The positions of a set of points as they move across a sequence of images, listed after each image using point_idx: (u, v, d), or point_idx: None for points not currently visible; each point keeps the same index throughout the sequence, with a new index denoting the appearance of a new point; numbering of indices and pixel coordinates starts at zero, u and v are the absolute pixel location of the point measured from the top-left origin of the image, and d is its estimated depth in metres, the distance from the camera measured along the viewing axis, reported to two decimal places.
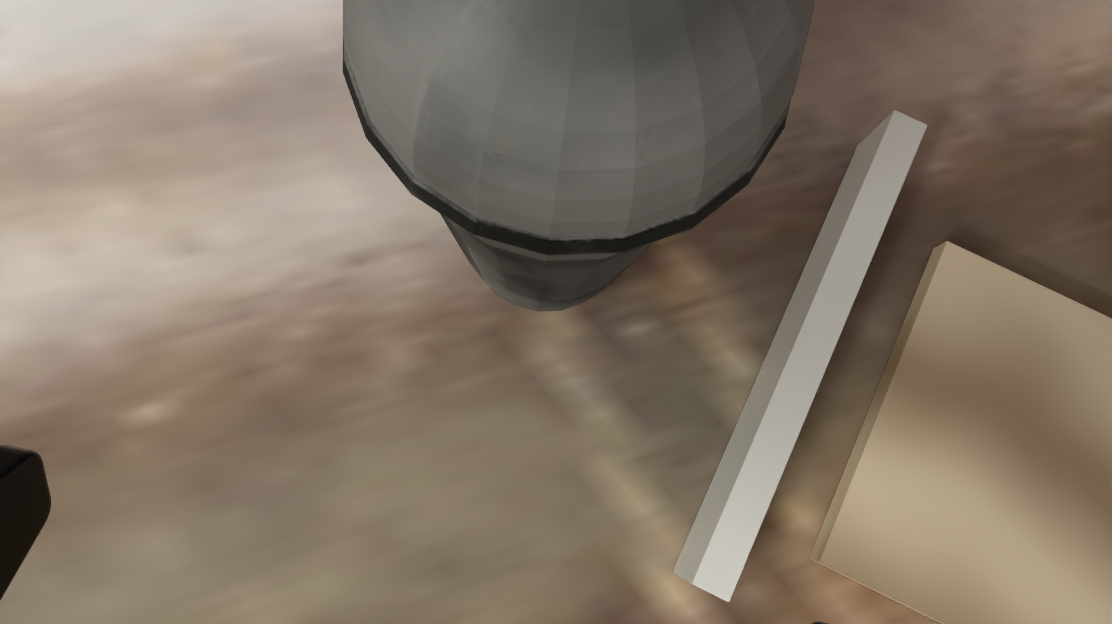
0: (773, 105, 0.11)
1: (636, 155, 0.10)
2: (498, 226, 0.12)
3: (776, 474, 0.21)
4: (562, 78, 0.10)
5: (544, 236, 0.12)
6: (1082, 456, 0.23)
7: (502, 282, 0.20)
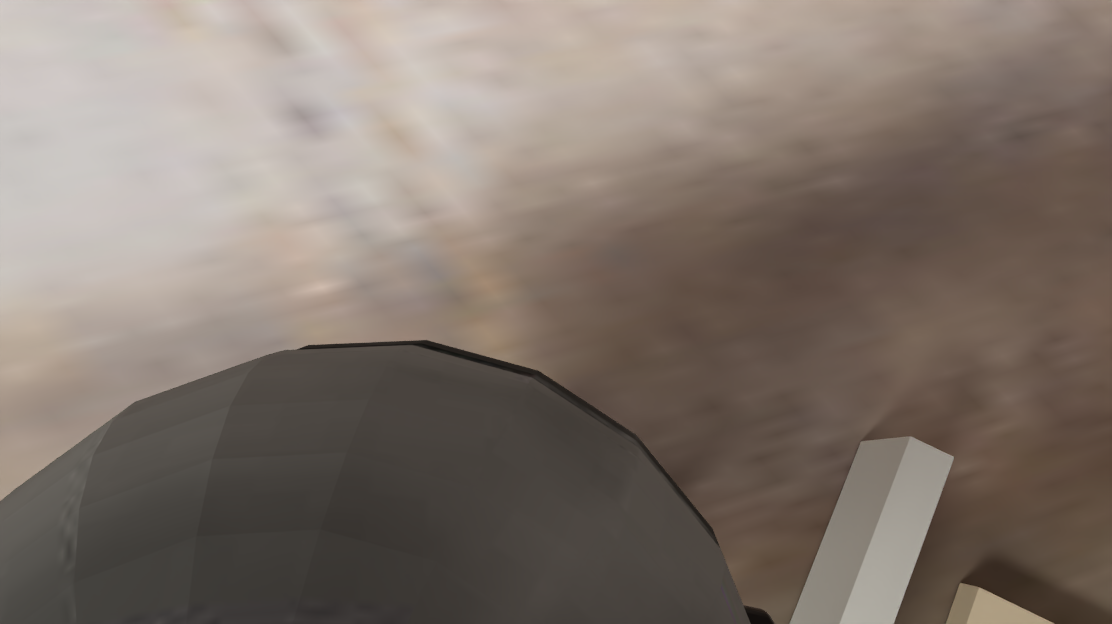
0: None
1: None
2: None
3: None
4: None
5: None
6: None
7: None
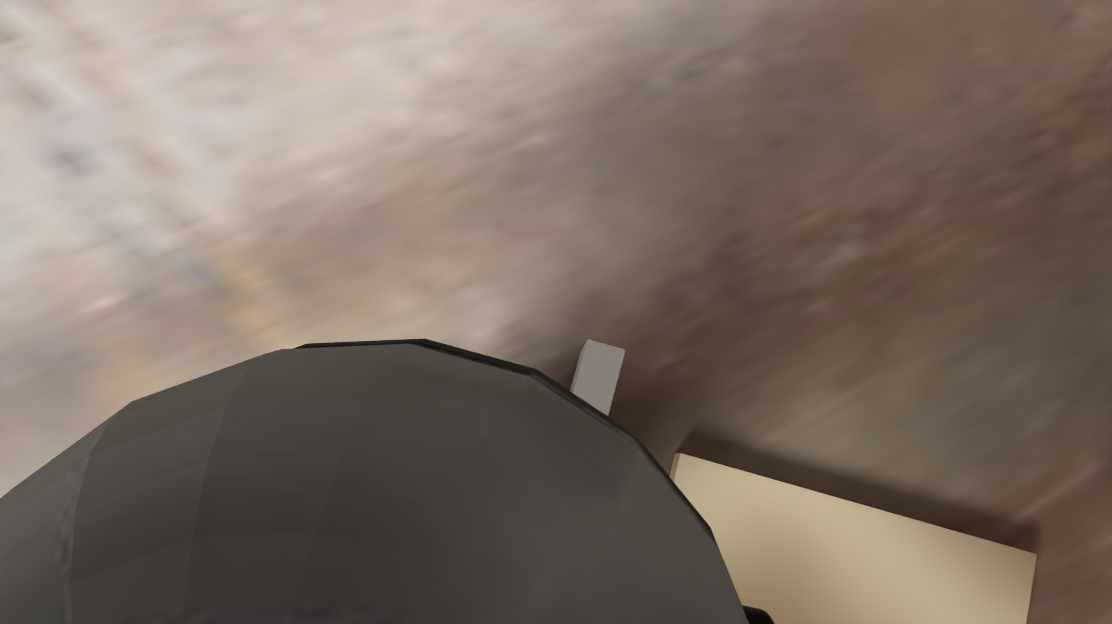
0: None
1: None
2: None
3: None
4: None
5: None
6: None
7: None
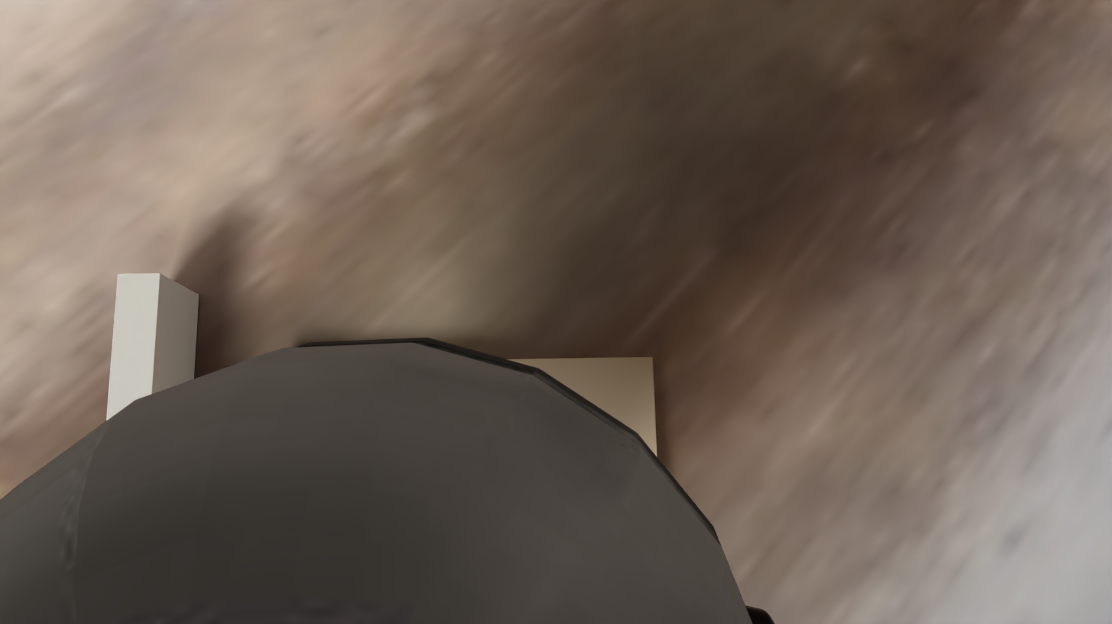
0: None
1: None
2: None
3: None
4: None
5: None
6: None
7: None
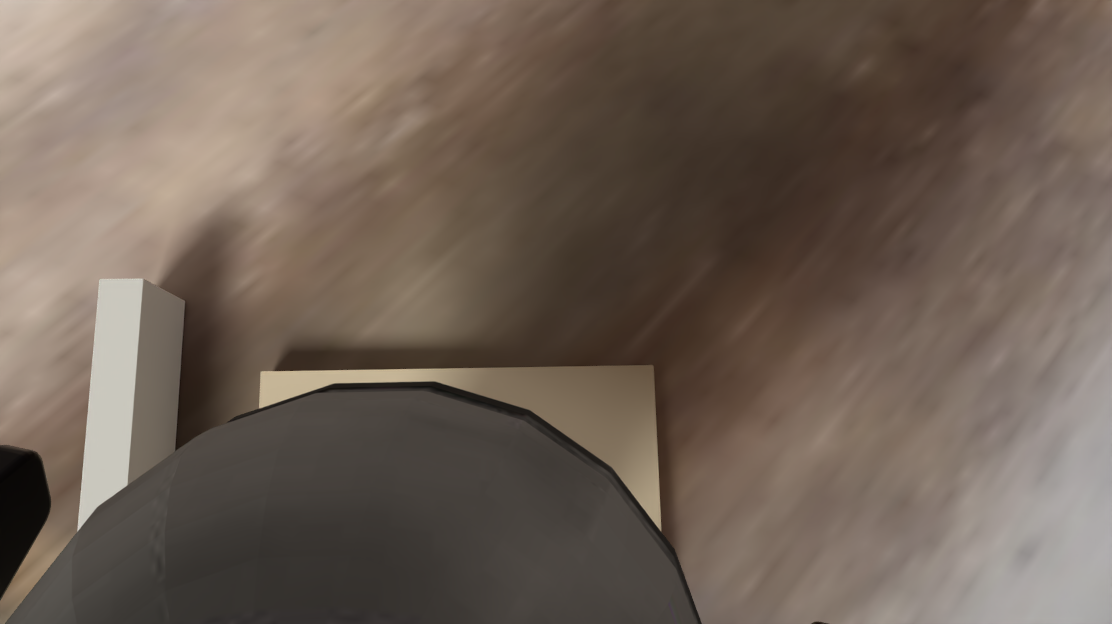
0: None
1: None
2: None
3: None
4: None
5: None
6: None
7: None
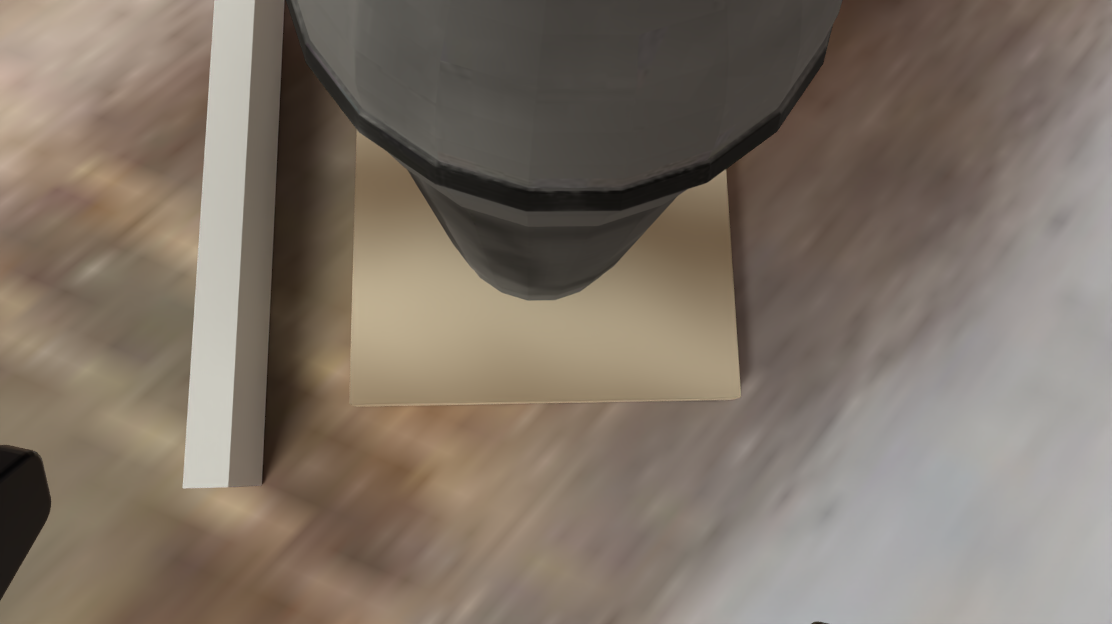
0: (816, 19, 0.09)
1: (637, 71, 0.08)
2: (464, 172, 0.09)
3: (230, 340, 0.19)
4: None
5: (522, 186, 0.09)
6: None
7: (485, 262, 0.17)
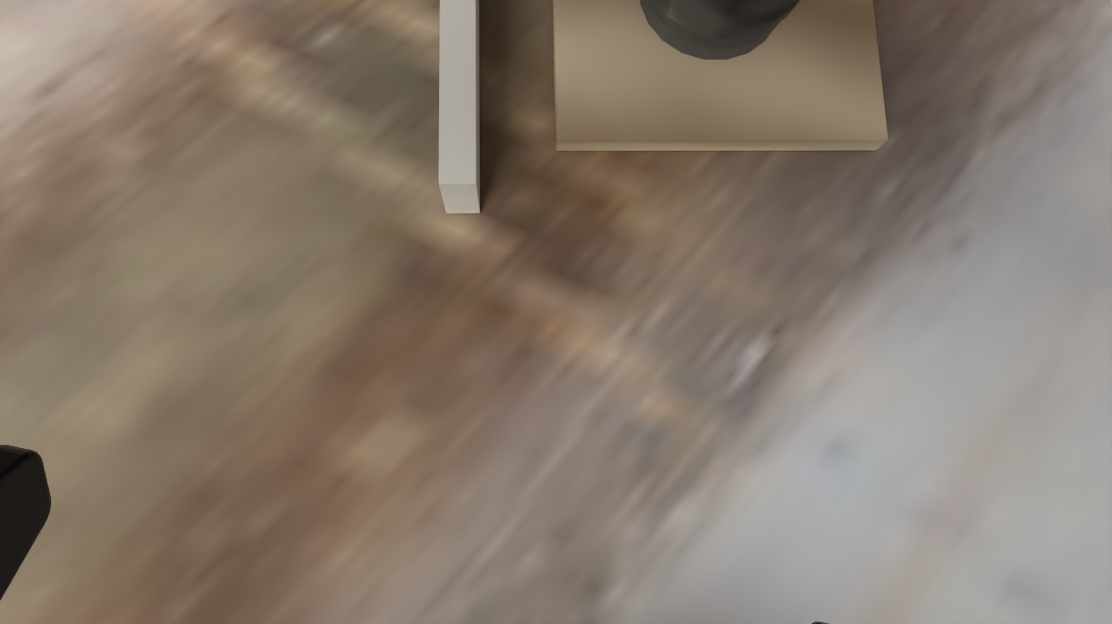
0: None
1: None
2: None
3: (470, 68, 0.23)
4: None
5: None
6: None
7: None
